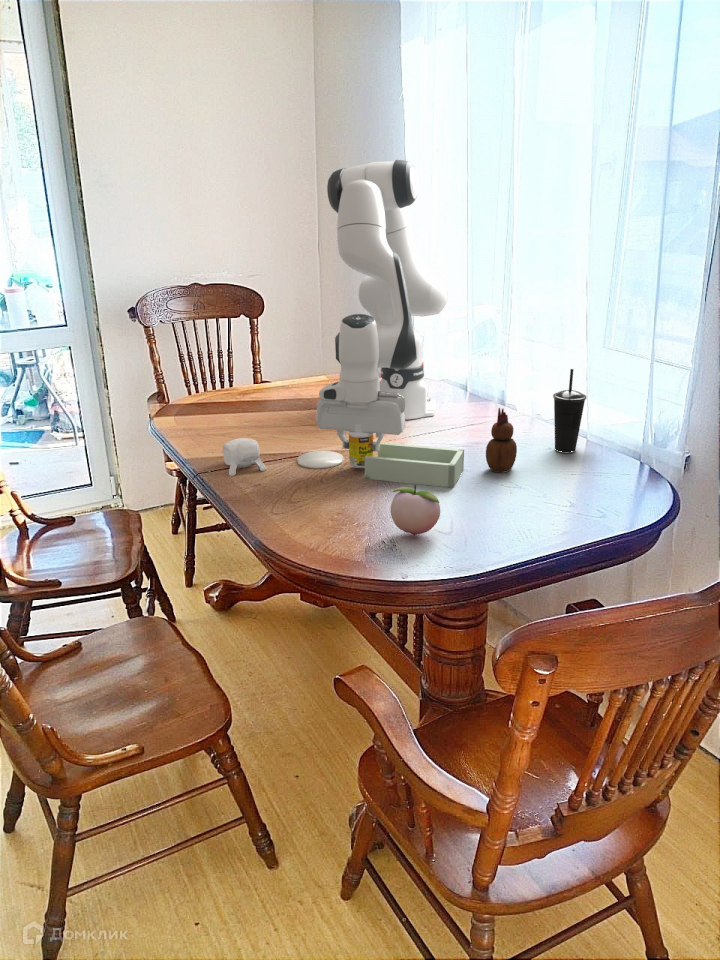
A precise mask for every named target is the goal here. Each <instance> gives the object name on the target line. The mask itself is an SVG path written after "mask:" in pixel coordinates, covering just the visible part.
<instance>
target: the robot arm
mask: <svg viewBox="0 0 720 960" xmlns="http://www.w3.org/2000/svg"><path fill="white" fill-rule="evenodd" d="M326 185H327V186H326V187H327V190H326V191H327V198H328V201H329V205H330V207H331V209H332V210H333V211H335V212H336V213H337V224H336V225H337V227H336V228H337V229H336V230H337V232H336V234H337V236H336V237H337V248H338V254H339V256H340V258H341V259H342V261H343V262H344V264H346V265H347V266H348V267H349V268H350V269H353V270H354V271H356V272H358V273H361V274H363V275H365V277H364V278H363V279H362V281H361V283H360V284H359V288H358V300H359V302H360V305H361V307H362V308H363V309H364V310H365V311H366V312H367V313H369V314H370V315H369V314H366V313H365V314H364V313H355V314H350V315H347V316H345V317H344V318H342V319H341V322H340V327H339V332H338V333H337V334H336V336H335V337H334V338H335V339H334V342H335V343H334V344H335V360H336V361H337V362H338V363H339V364H340V373H339V381H335V382H331V383H329V384H327V385H326V386H324V387H323V388H321V389H320V390H319V392H318V394H319V398H320V400H319V401H318V402H317V405H316V417H315V419H316V425H317V427H318V428H319V429H320V430H329V431H331V430H332V431H337V433H336V434H337V436H338V438H339V439H340V442H342V445H341V446H342V449H344V450H346V449H347V450H349V439H348V438H347V436H346V433H347V432H349V431H354V432H355V430H356V429H355V425H356V424H357V425H361V429H362V431H361V432H367V433H373V434H375V438H376V439H377V440H376V441H373V443H372V444H371V447H372V449H371V450H372V451H373V452H377V453H378V451H379V450H380V443H382V440H383V438H384V437H385V435H393V436H395V435H396V436H399V435H401V434H402V433H403V432H404V430H405V429H406V420H416V419H421V418H425V417H426V418H427V417H433V416H435V413H436V407H437V406H436V404H437V401H436V399H434V398H430V397H429V388H430V387H429V384H428V383H427V381H426V379H425V378H424V377H425V369H424V368H425V363H424V361H423V340H422V337H421V336H422V335H420V333H419V332H418V331H416V329H415V327H414V324H413V320H412V317H423V318H424V317H429V316H430V317H431V316H435V315H439V314H441V312H442V311H443V310H444V309H445V306H446V305H447V302H448V287H447V286H446V284H445V282H444V280H443V279H442V278H440V277H439V276H437V275H436V274H435V273H433V272H432V271H431V270H430V268H429V267H428V266H427V265H426V263H425V261H424V260H423V258H422V257H421V256H420V253H419V251H418V248H417V244H416V241H415V237H414V232H413V227H412V220H411V214H410V209H409V207H410V206H411V205H413V204H414V203H415V201H416V200H417V197H418V193H419V187H420V181H419V177H418V173H417V171H416V168H415V166H414V165H413V164H412V163H411V162H410V161H409V160H405V159H396V160H395V159H394V161H393V160H389V161H388V160H386V161H381V160H380V161H372V162H369V163H364V164H363V163H362V164H359V165H355V166H351V167H347V168H346V167H342V168H339V169H336V170H335V171H332V173H331V174H330V176H329V178H328V180H327V184H326ZM379 368H380V373H379ZM380 377H381V378H380ZM435 406H436V407H435Z"/></svg>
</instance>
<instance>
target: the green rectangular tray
mask: <svg viewBox="0 0 720 960" xmlns="http://www.w3.org/2000/svg"><path fill="white" fill-rule="evenodd" d="M464 460H465V449H460V448H451V447H450V448H449V447H437V446H424V445H414V444H413V445H412V444H402V443H401V444H400V443H390V442H380V450H379V451H378V452H377V456H374V455H373V456H366V457H365V468H364V479H366V480H375V481H385V482H395V483H401V484H402V483H403V484H404V483H405V484H413V485H424V486H434V487H442V488H452V489H454V488H455V486H456V484H457V483H456V482H458V481H459V479H460V477H461V476H462V474H463V472H464V467H465V466H464V465H465V463H464V462H465V461H464ZM461 473H462V474H461ZM460 475H461V476H460ZM457 480H458V481H457Z"/></svg>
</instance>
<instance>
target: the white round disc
mask: <svg viewBox="0 0 720 960" xmlns="http://www.w3.org/2000/svg"><path fill="white" fill-rule="evenodd" d="M342 463H344V456H343V454H341V453H339V452H336V451H331V450H315V451H308V452H306V453H305V452H304V453H303V454H301V455H299V456H298V457H297V464H298V465H299V466H301V467H303V468H307V469H313V470H314V469H319V470H320V469H321V470H322V469H330V468H334V466H335V467H337V465H338V466H340V465H341V464H342Z"/></svg>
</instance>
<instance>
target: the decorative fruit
mask: <svg viewBox="0 0 720 960" xmlns="http://www.w3.org/2000/svg"><path fill="white" fill-rule="evenodd" d="M413 485H414V487H413V488H412V487H408V486H402V487H401V486H400V487H398V488H395V489H394V490H393V491H392V493H395V492H397V493H396V494H395V495H394V497H393V499H391V500H392V501H391V503H390V516H391V519H392V521H393V523H394V525H395V526H396V527H397V529H399V530H400V531H402V532H404V533H408V534H411V535H412V536H417V535H418V536H419V535H422V534H426V533H427V532H429V531H431V530H432V529H433V528H434V527H435V526H436V524H437V523H438V521H439V519H440V516H441V506H440V505H441V504H440V500H439V499H438V497H437V495H435V494H434V493H432V492H430V491H427V490H417V484H413Z"/></svg>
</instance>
